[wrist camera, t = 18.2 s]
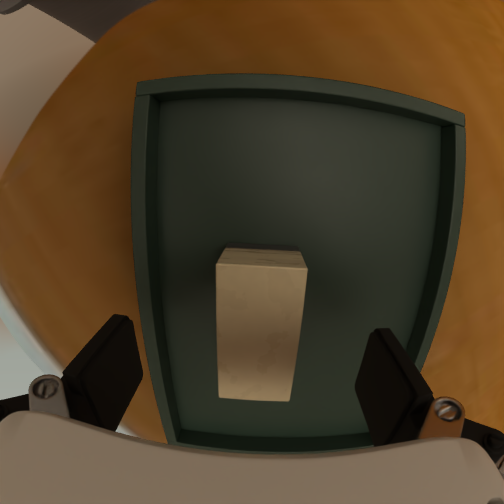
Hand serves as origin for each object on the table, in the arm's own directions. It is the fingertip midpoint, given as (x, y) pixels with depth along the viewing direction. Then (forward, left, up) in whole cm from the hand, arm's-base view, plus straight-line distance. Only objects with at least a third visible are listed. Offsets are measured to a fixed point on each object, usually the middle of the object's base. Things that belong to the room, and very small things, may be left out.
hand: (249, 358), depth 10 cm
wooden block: (0, 0, -5) cm, 5 cm away
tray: (+1, +2, -6) cm, 6 cm away
